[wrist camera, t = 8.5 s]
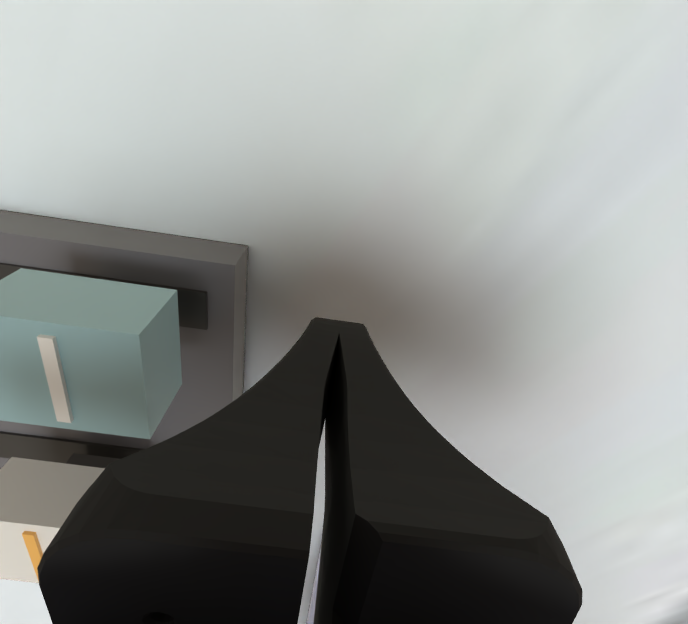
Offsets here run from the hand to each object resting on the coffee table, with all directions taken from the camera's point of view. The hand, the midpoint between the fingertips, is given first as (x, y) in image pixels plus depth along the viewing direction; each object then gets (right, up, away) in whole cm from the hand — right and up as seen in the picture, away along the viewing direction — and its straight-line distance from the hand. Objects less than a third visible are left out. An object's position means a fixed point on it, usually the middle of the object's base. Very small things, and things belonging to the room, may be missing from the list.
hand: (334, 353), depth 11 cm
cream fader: (-8, -4, +4) cm, 10 cm away
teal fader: (-6, +1, +1) cm, 6 cm away
